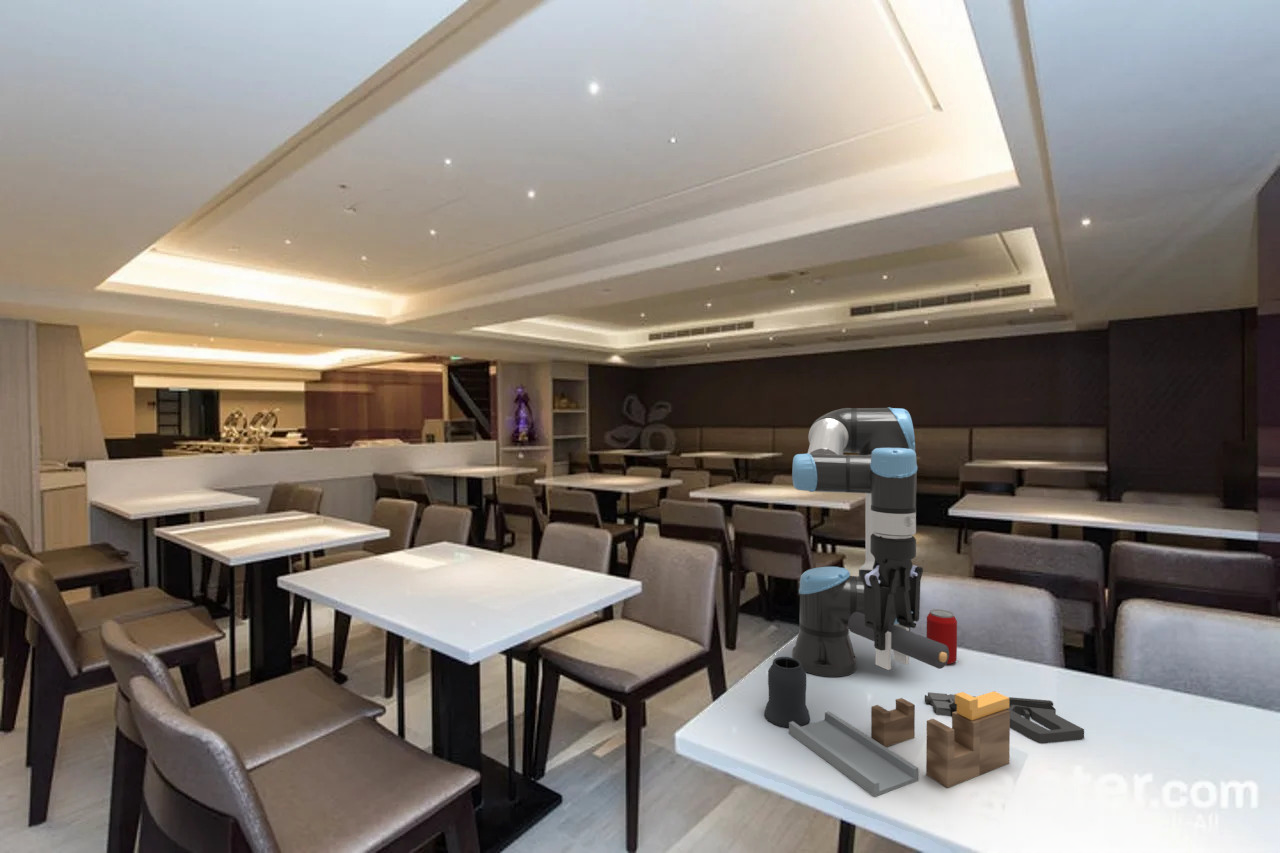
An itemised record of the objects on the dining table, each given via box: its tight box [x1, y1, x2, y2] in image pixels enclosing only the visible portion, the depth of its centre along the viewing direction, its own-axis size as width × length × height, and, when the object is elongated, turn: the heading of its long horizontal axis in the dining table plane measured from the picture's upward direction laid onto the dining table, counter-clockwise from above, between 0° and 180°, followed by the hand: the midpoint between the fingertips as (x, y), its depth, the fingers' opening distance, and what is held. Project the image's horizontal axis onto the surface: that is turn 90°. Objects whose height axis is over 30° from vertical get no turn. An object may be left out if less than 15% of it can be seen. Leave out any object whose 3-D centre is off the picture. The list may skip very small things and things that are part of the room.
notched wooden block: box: [925, 709, 1011, 789], centre depth 102 cm, size 4×16×9 cm, turn 115°
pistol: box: [924, 691, 1085, 745], centre depth 118 cm, size 2×26×15 cm
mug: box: [763, 656, 811, 730], centre depth 121 cm, size 12×9×11 cm
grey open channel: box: [788, 710, 919, 797], centre depth 106 cm, size 21×10×2 cm, turn 25°
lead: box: [848, 612, 949, 670], centre depth 105 cm, size 19×4×4 cm, turn 28°
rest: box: [870, 697, 916, 748], centre depth 112 cm, size 3×8×6 cm, turn 115°
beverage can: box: [926, 608, 958, 665], centre depth 147 cm, size 7×7×12 cm
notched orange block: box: [954, 690, 1010, 720], centre depth 103 cm, size 3×10×3 cm, turn 115°
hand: (892, 663), depth 106 cm, fingers closed on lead, 4 cm apart
